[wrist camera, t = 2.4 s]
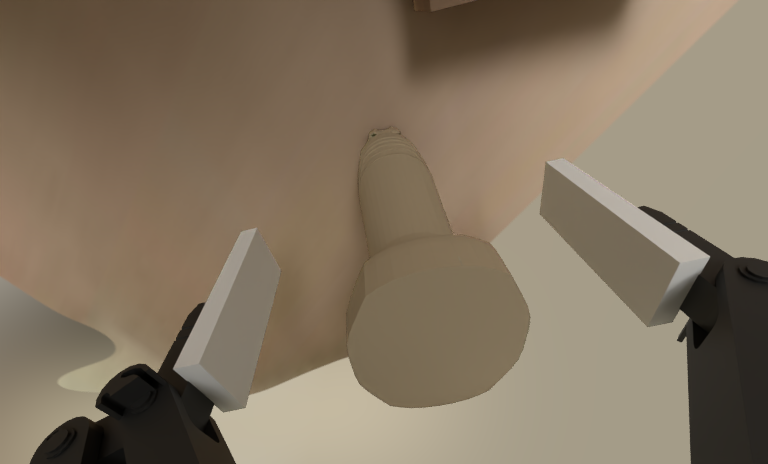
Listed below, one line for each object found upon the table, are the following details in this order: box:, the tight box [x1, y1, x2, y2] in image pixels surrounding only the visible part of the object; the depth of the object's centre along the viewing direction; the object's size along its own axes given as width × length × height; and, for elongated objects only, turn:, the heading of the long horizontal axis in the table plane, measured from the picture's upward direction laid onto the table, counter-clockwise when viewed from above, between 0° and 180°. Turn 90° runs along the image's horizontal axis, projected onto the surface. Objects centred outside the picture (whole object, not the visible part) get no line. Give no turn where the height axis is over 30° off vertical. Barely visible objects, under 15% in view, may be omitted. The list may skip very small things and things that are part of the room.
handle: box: [346, 127, 530, 408], centre depth 14 cm, size 5×6×15 cm
